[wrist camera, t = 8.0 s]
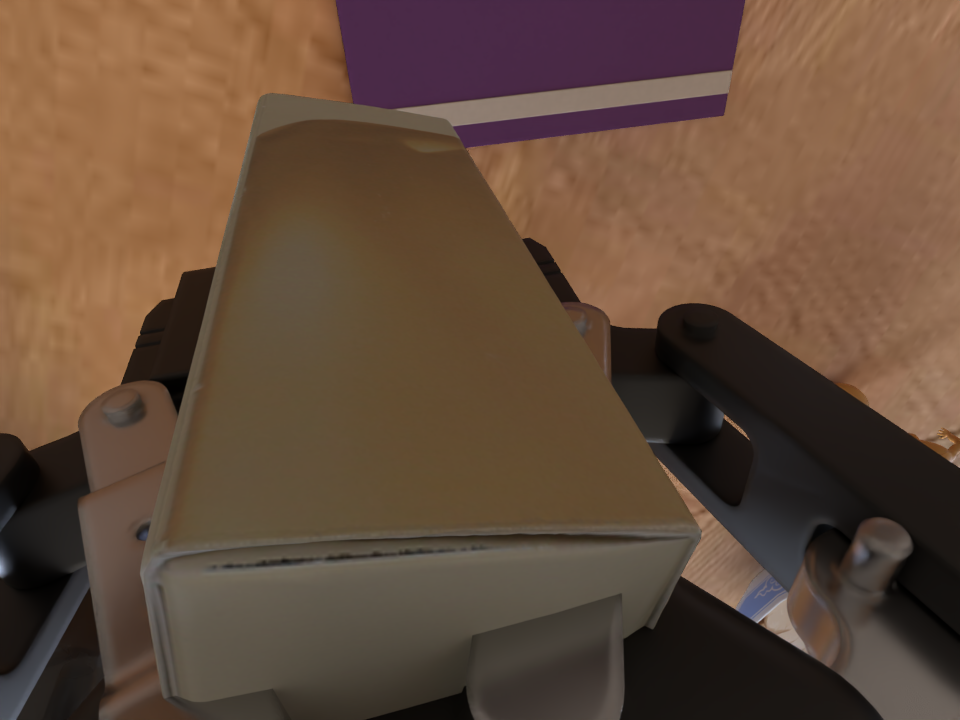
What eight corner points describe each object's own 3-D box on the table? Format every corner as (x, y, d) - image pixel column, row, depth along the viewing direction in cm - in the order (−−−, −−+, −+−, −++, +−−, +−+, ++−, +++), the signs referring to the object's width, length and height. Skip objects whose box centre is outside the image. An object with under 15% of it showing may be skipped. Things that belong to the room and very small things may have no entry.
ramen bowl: (937, 467, 63) (1007, 534, 56) (872, 591, 77) (922, 655, 71) (700, 525, 61) (745, 602, 54) (679, 642, 75) (712, 713, 69)
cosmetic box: (419, 334, 18) (544, 842, 9) (258, 328, 17) (195, 916, 7) (456, 101, 14) (743, 541, 5) (253, 72, 13) (118, 583, 4)
